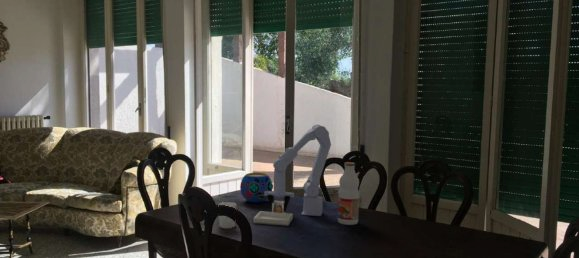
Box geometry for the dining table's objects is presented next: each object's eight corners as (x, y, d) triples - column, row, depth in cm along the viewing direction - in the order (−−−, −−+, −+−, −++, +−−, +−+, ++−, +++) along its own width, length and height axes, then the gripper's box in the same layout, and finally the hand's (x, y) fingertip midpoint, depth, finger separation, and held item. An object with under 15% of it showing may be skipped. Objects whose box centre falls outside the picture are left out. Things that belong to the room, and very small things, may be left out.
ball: (282, 209, 229) (281, 206, 227) (281, 215, 227) (280, 211, 225) (276, 209, 230) (275, 205, 228) (275, 214, 228) (274, 211, 225)
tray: (292, 218, 220) (292, 213, 220) (288, 225, 209) (288, 220, 208) (259, 216, 223) (259, 211, 223) (253, 223, 211) (253, 217, 211)
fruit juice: (360, 225, 213) (363, 164, 210) (341, 225, 211) (343, 164, 209) (354, 219, 222) (356, 161, 220) (335, 219, 220) (337, 161, 218)
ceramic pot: (248, 207, 241) (248, 178, 240) (235, 199, 256) (235, 172, 255) (278, 203, 249) (278, 176, 248) (263, 196, 265) (264, 170, 264)
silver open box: (285, 213, 230) (285, 201, 230) (283, 215, 225) (283, 203, 224) (274, 212, 231) (274, 200, 231) (272, 215, 226) (272, 203, 225)
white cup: (237, 224, 209) (238, 202, 209) (234, 229, 202) (234, 206, 201) (220, 223, 210) (220, 201, 209) (216, 228, 202) (216, 205, 202)
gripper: (263, 184, 224) (262, 211, 225) (292, 185, 222) (292, 213, 223) (266, 181, 231) (265, 208, 232) (295, 183, 229) (294, 210, 230)
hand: (278, 210), depth 228 cm, fingers closed on silver open box, 6 cm apart
